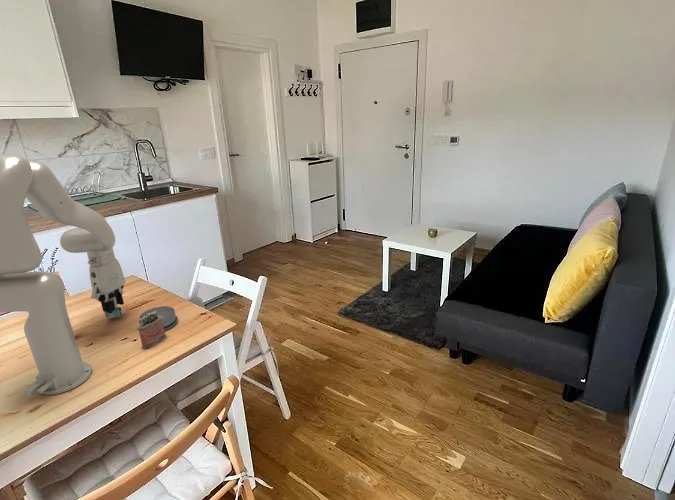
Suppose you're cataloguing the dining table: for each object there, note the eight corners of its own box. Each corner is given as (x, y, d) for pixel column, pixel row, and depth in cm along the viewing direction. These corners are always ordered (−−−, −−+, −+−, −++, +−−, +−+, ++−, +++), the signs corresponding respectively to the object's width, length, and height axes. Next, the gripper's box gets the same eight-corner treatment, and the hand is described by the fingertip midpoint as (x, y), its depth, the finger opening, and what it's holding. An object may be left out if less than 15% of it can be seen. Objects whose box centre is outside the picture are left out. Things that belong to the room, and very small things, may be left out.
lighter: (161, 334, 125) (155, 307, 121) (168, 336, 123) (162, 309, 120) (139, 347, 118) (132, 319, 115) (147, 350, 117) (140, 321, 113)
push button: (128, 311, 138) (123, 285, 135) (123, 318, 133) (117, 291, 130) (108, 313, 137) (102, 287, 134) (102, 320, 132) (96, 293, 129)
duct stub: (164, 335, 124) (162, 324, 123) (131, 332, 126) (129, 322, 125) (185, 316, 135) (183, 306, 134) (154, 314, 137) (152, 304, 136)
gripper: (91, 268, 119) (104, 320, 125) (129, 251, 135) (139, 297, 141) (71, 267, 121) (85, 318, 127) (111, 250, 137) (121, 296, 142)
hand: (113, 307), depth 134 cm, fingers closed on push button, 4 cm apart
